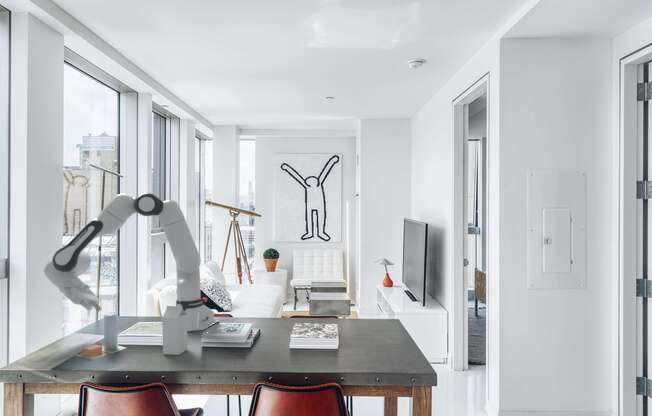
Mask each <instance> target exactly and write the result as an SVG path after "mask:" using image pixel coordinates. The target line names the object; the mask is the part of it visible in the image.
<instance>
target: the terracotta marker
mask: <svg viewBox="0 0 652 416" xmlns="http://www.w3.org/2000/svg"><path fill="white" fill-rule="evenodd" d="M102 347H103V346H102V345H98V344H96V343H95V344H91V345H88V346H85V347H82V353H83V356H87V357H94V356H97V355H100V354H102Z"/></svg>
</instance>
